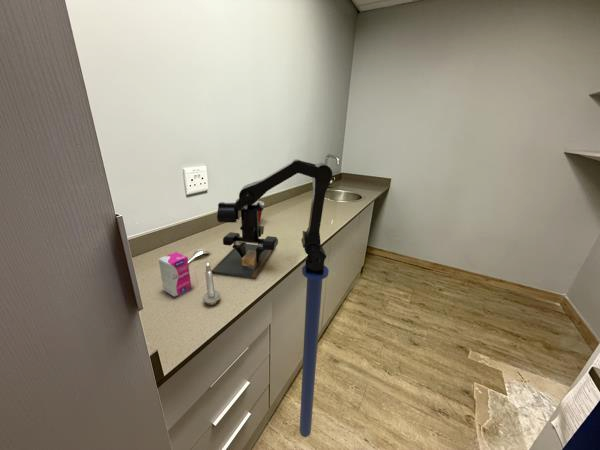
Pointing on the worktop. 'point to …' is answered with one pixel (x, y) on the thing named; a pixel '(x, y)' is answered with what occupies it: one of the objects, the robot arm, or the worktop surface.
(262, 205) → the plastic cup
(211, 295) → the screw
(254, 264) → the wooden block
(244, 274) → the chalkboard
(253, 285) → the worktop surface
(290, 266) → the worktop surface
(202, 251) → the metal serving spoon
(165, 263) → the supplement box
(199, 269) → the worktop surface
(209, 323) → the worktop surface
